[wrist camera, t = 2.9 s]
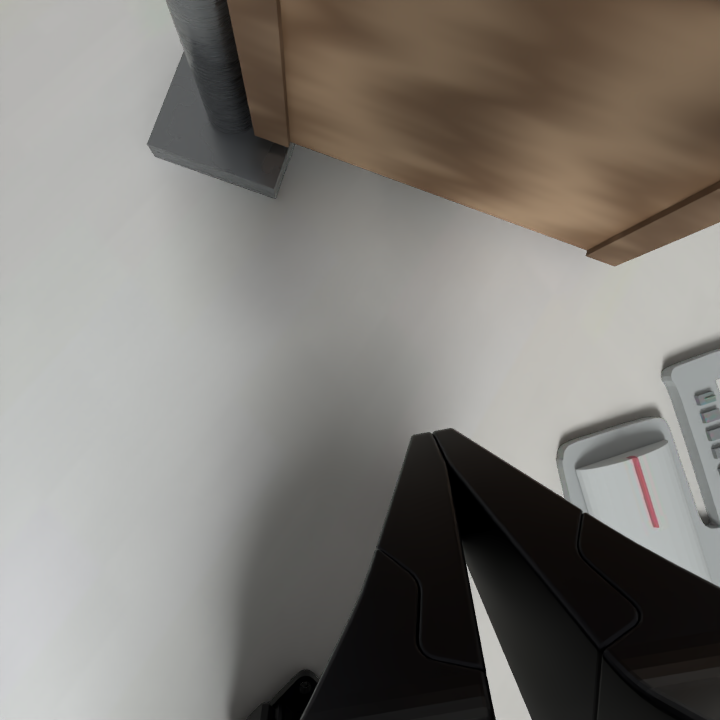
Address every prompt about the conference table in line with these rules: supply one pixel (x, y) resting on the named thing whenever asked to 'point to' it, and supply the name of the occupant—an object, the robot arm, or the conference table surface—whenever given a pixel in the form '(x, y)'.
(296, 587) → the conference table surface
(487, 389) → the conference table surface
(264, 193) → the gate post
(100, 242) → the conference table surface
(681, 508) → the office telephone
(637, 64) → the gate
